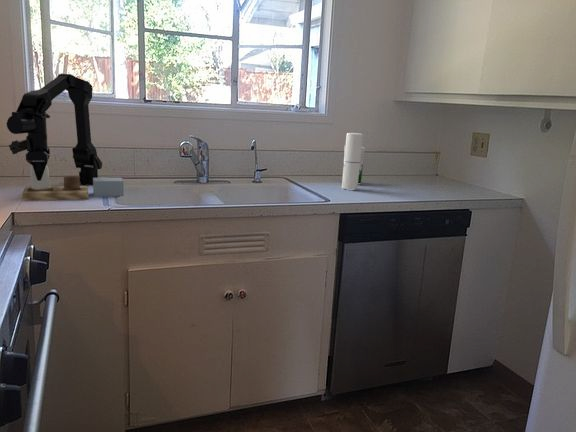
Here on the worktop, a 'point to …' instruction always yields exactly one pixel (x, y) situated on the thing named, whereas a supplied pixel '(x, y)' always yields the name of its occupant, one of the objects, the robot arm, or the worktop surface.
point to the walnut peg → (71, 183)
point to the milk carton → (360, 163)
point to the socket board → (54, 194)
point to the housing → (108, 187)
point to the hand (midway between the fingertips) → (40, 178)
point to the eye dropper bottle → (44, 181)
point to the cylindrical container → (352, 160)
